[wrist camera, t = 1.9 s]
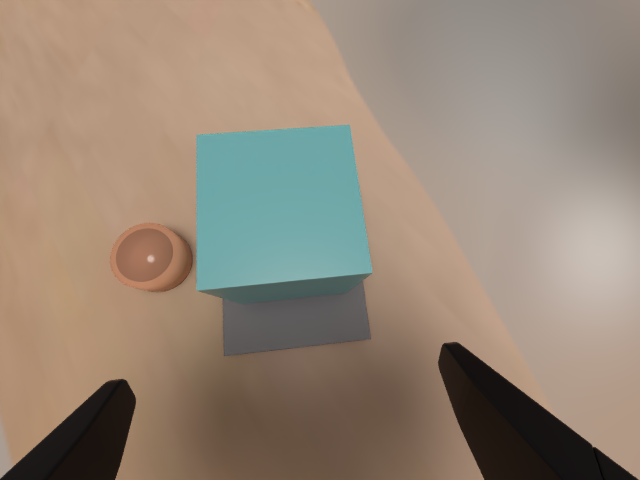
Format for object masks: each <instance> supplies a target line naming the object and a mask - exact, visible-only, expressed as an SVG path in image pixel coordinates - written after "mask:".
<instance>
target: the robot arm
mask: <svg viewBox="0 0 640 480" xmlns="http://www.w3.org/2000/svg"><path fill="white" fill-rule="evenodd" d="M438 366H439V370H440V373H441V376H442V379H443V382H444V384H445V387H446V390H447V393H448V396H449V399H450V401H451V404H452V407H453V410H454V413H455V416H456V418H457V421H458V423H459V426H460V428H461V430H462V432H463V435H464V437H465V439H466V441H467V443H468V445H469V447H470V450H471V452H472V454H473V456H474V458H475V460H476V463H477V465H478V467H479V469H480V471H481V473H482V475H483V478H484V480H638V479H637V478H636V477H634V476H633V475H632V474H630V473H629V472H628V471H626V470H625V469H624V468H622V467H621V466H620V465H618V464H617V463H615V462H614V461H613V460H612V459H610V458H609V457H608V456H606V455H605V454H604V453H602V452H601V451H600V450H598V449H597V448H596V447H592V445H591V444H590V443H589V442H588V441H586V440H585V439H584V438H582V437H581V436H580V435H579V434H577V433H576V432H575V431H573V430H572V429H571V428H569V427H568V426H567V425H566V424H564V423H563V422H562V421H560V420H559V419H558V418H556V417H555V416H554V415H552V414H551V413H550V412H549V411H547V410H546V409H545V408H543V407H542V406H541V405H539V404H538V403H537V402H535V401H534V400H533V399H531V398H530V397H529V396H528V395H526V394H525V393H524V392H522V391H521V390H520V389H518V388H517V387H516V386H514V385H513V384H512V383H511V382H509V381H508V380H507V379H505V378H504V377H503V376H501V375H500V374H499V373H497V372H496V371H495V370H494V369H492V368H491V367H490V366H488V365H487V364H486V363H484V362H483V361H482V360H480V359H479V358H478V357H476V356H475V355H474V354H473V353H471V352H470V351H469V350H467V349H466V348H465V347H463V346H462V345H461V344H459V343H457V342H450V343H444V344H443V345H442V348H441V352H440V356H439V361H438ZM135 405H136V398H135V395H134V393H133V391H132V390H131V388H130V386H129V384H128V382H127V381H126V380H124V379H118V380H110V381H108V382H106V383H105V384H103V385H102V386H101V387H100V388H99V389H98V390H97V391H96V392H95V393H94V394H93V395H91V396H90V397H89V398H88V399H87V400H86V401H85V402H84V403H83V404H82V405H80V406H79V407H78V408H77V409H76V410H75V411H74V412H73V413H72V414H71V415H70V416H68V417H67V418H66V419H65V420H64V421H63V422H62V423H61V424H60V425H59V426H57V427H56V428H55V429H54V430H53V431H52V432H51V433H50V434H49V435H48V436H47V437H45V438H44V439H43V440H42V441H41V442H40V443H39V444H38V445H37V446H36V447H34V448H33V449H32V450H31V451H30V452H29V453H28V454H27V455H26V456H25V457H24V458H22V459H21V460H20V461H19V462H18V463H17V464H16V465H15V466H14V467H13V468H11V469H10V470H9V471H8V472H7V473H6V474H5V475H4V476H3V477H2V478H1V479H0V480H115V478H116V476H117V473H118V470H119V467H120V463H121V460H122V456H123V452H124V448H125V444H126V440H127V437H128V433H129V429H130V425H131V421H132V417H133V413H134V409H135Z"/></svg>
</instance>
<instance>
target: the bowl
mask: <svg viewBox="0 0 640 480" xmlns="http://www.w3.org/2000/svg"><path fill="white" fill-rule="evenodd" d="M110 264H111V269H112V271H113V274H114V275H115V277H116V278H117V279H118V280H119V281H120V282H121V283H123V284H125V285H127V286H129V287H133V288H138V289H143V290H148V291H152V292H163V291H167V290H170V289H172V288H174V287H176V286H177V285H179V284H180V283H181V282H182V281H183V280H184V279H185V278H186V276H187V275H188V273H189V271H190V269H191V265H192V253H191V249H190V247H189V245H188V244H187V243H186V241H185V240H183V239H182V238H181V237H179V236H178V235H176V234H175V233H173V232H172V231H171V230H169V229H168V228H166V227H164V226H162V225H159V224H155V223H144V224H139V225H136V226H134V227H132V228H130V229H128V230H127V231H125V232H124V233H123V234H122V235H121V236H120V237H119V238H118V239H117V241H116V242H115V244H114V246H113V248H112V251H111V256H110Z"/></svg>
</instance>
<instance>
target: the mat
mask: <svg viewBox="0 0 640 480" xmlns="http://www.w3.org/2000/svg"><path fill="white" fill-rule="evenodd" d="M223 332H224V356H229V355H237V354H246V353H255V352H263V351H272V350H280V349H289V348H298V347H306V346H315V345H323V344H332V343H341V342H349V341H358V340H366V339H371V337H370V330H369V323H368V316H367V309H366V302H365V295H364V288H363V281H361V282H360V283H359V284H357V285H356V286H355V287H353V288H352V289H351V290H349V291H348V292H347V293H341V294H332V295H322V296H313V297H303V298H293V299H284V300H274V301H265V302H255V303H246V304H240V303H237V302H234V301H230V300H227V299H223Z"/></svg>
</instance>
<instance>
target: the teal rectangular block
mask: <svg viewBox="0 0 640 480" xmlns="http://www.w3.org/2000/svg"><path fill="white" fill-rule="evenodd" d="M370 274H372V266H371V260H370V253H369V247H368V240H367V234H366V227H365V221H364V214H363V208H362V201H361V195H360V188H359V182H358V175H357V169H356V162H355V156H354V149H353V143H352V136H351V130H350V125H338V126H323V127H308V128H293V129H278V130H263V131H247V132H232V133H217V134H202V135H197V291H200V292H203V293H206V294H210V295H213V296H217V297H220V298H223V299H227V300H230V301H234V302H237V303H240V304H246V303H255V302H265V301H274V300H284V299H293V298H303V297H313V296H322V295H332V294H341V293H347V292H348V291H349V290H351V289H352V288H353V287H355V286H356V285H357V284H359V283H360V282H361V281H362V280H364V279H365V278H366V277H368V276H369V275H370Z"/></svg>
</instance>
